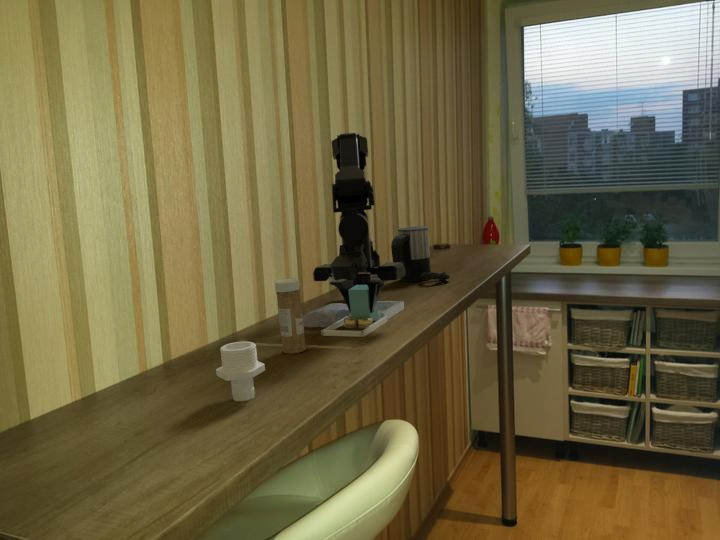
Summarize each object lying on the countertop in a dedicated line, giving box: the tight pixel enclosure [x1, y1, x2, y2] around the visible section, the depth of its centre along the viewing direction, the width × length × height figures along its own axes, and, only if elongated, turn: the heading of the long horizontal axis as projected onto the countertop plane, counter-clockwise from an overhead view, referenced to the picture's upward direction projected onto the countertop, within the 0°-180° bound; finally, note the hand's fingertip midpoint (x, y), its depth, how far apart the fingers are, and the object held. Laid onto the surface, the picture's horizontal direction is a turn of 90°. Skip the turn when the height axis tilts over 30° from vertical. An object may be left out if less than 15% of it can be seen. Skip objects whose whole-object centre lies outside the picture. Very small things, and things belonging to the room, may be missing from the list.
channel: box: [349, 300, 405, 322], centre depth 144 cm, size 12×8×2 cm
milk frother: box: [390, 225, 451, 282], centre depth 182 cm, size 14×16×15 cm
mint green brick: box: [348, 285, 378, 320], centre depth 137 cm, size 4×4×7 cm
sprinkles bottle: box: [274, 277, 307, 355], centre depth 120 cm, size 5×5×14 cm
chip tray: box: [320, 316, 388, 338], centre depth 133 cm, size 12×9×1 cm
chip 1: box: [343, 317, 359, 329], centre depth 135 cm, size 3×3×2 cm
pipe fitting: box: [215, 341, 266, 402], centre depth 97 cm, size 6×7×8 cm
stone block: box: [302, 302, 350, 328], centre depth 142 cm, size 12×5×10 cm
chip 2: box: [357, 317, 374, 329], centre depth 133 cm, size 3×3×2 cm
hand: (362, 312), depth 136 cm, fingers closed on mint green brick, 4 cm apart
